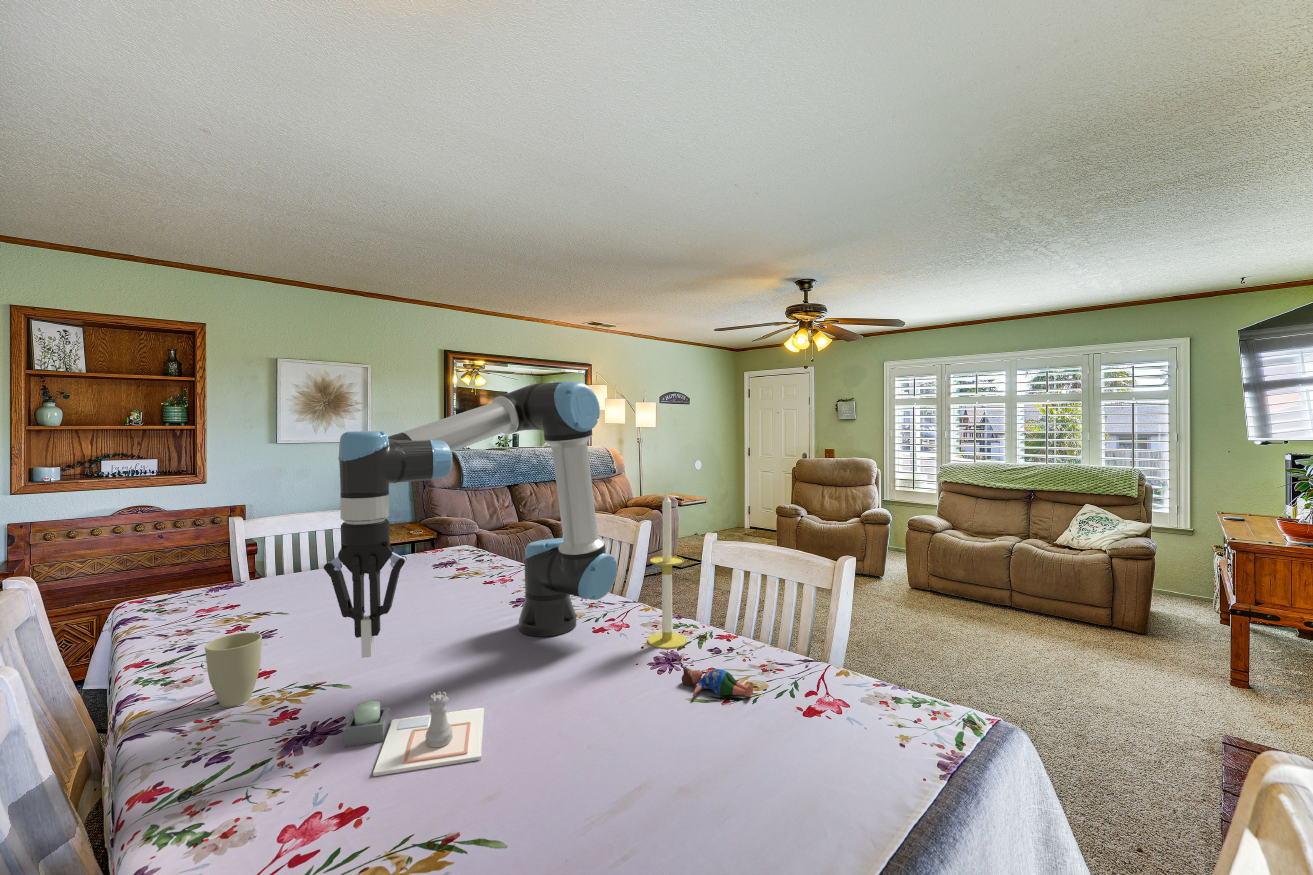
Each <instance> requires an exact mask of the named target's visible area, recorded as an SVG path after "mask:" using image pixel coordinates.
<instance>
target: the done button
mask: <svg viewBox="0 0 1313 875" xmlns="http://www.w3.org/2000/svg"><path fill="white" fill-rule="evenodd" d="M380 708H381V703H380V702H379V701H378V700H368V701H363V702H362V703H359V704H358V705H356V706H355V707H354V709H353V710H354V711H353V712H354V716H355V726H358V725H366V724H373V723H379V722H380Z"/></svg>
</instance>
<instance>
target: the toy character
mask: <svg viewBox="0 0 1313 875" xmlns="http://www.w3.org/2000/svg"><path fill="white" fill-rule="evenodd" d="M682 670H683V674H682V676H681V682H682V684H684V685H686V686H688V687H690V688H691V687H695V689H694V691H693V694H692V698H695V697H696V696H697V694H698V693H699V692H701V691H702V690H708V689H709V690H711V691H713V693H714V694H715V695H716V696H717V695H718V696H746V697H747V698H751V697H752V695H753V694H754V683H753V682H752V681H751V682H750V683H749V684H748V686H746V685H745V684H743V683H741V682H739V681H738V680H737V679H735V677H734V676H733V675H732V674H731V673H730V672H729V671H727V670H725V669H722V668H721V669H720V668H714V669H711V670H710V671H708V672H706V673H705V674H704V675H703V671H702V670H700V669H695V670H693V669H691V668H687V667H682Z"/></svg>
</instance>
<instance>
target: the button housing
mask: <svg viewBox="0 0 1313 875" xmlns="http://www.w3.org/2000/svg"><path fill="white" fill-rule="evenodd" d="M390 718H391V717H390V706H387V707H380V722H379V723H373V724H366V725H358V726H355V716H354V711H352V713H351V715H350V717H349V719H348V721H347V722H346V725H345V726H344V729H343V740H344V741H343V744H344V747H352V746H353V747H354V746H359V745H367V744H375V743H381V742H384V741H385V738H386V735H387V733H388V730H389V727H390V725H391V723H390V722H391V719H390Z"/></svg>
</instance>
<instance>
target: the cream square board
mask: <svg viewBox="0 0 1313 875" xmlns="http://www.w3.org/2000/svg"><path fill="white" fill-rule="evenodd" d="M446 715H447V721H448V723H449V724H450V727H451V728H452V734H453V738H452V740H451V741H450V742H449V743H448V744H447V745H445V746H442V747H439V748H431V747H429V746H428V745H427V744H426V743H425V739H426V737H425V736H426V732H427V731H428V728H429V726H430V722H431V714H426V715H418V716H417V715H416V716H410V717H403V718H394V719H392V720H391V723H390V724H389V727H388V730H387V733H386V735H385V738H384V741H383V745H382V748H381V749H380V753H379V755H378V758H377V762H376V764H375V767H374V769H373V771H372V776H373V777H377V776H384V775H391V774H397V773H406V772H409V771H417V770H424V769H431V768H437V767H443V766H450V765H456V764H462V763H469V762H475V761H480V760H482V750H483V746H482V745H483V736H484V735H483V732H484V719H485V718H484V717H485V707H480V708H479V707H478V708H477V707H476V708H471V709H464V710H454V711H449V712H448V711H446Z"/></svg>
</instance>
